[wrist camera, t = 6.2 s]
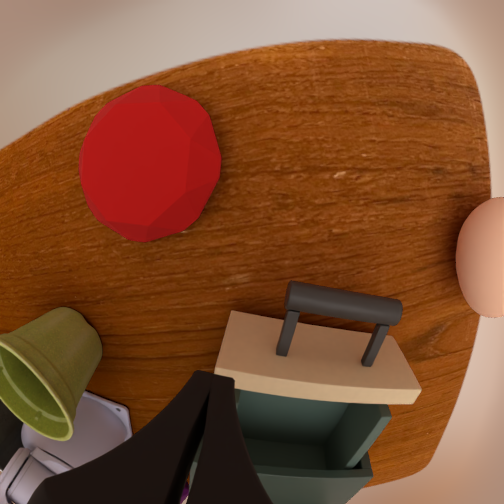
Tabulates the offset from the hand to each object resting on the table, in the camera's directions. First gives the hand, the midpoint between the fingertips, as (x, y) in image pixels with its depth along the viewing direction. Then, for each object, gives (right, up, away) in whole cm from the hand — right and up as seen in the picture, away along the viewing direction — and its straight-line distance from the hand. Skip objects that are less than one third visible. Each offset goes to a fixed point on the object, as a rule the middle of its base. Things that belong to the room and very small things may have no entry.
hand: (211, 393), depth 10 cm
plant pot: (-14, -2, +13) cm, 19 cm away
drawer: (+5, -4, +10) cm, 12 cm away
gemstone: (-5, +11, +8) cm, 14 cm away
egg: (+17, +8, +3) cm, 19 cm away
